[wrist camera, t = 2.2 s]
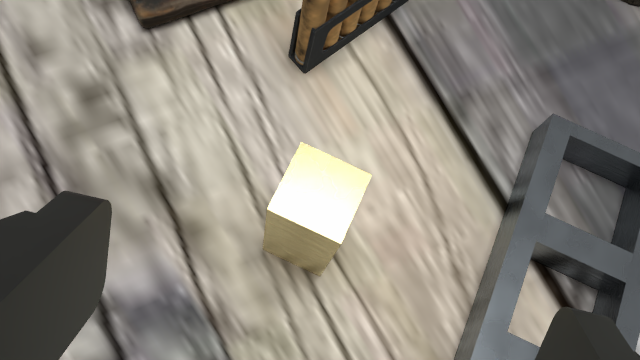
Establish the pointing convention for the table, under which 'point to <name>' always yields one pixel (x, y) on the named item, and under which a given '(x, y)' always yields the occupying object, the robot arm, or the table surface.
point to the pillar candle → (632, 2)
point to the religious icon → (168, 9)
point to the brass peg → (313, 208)
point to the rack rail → (559, 242)
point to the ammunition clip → (332, 27)
